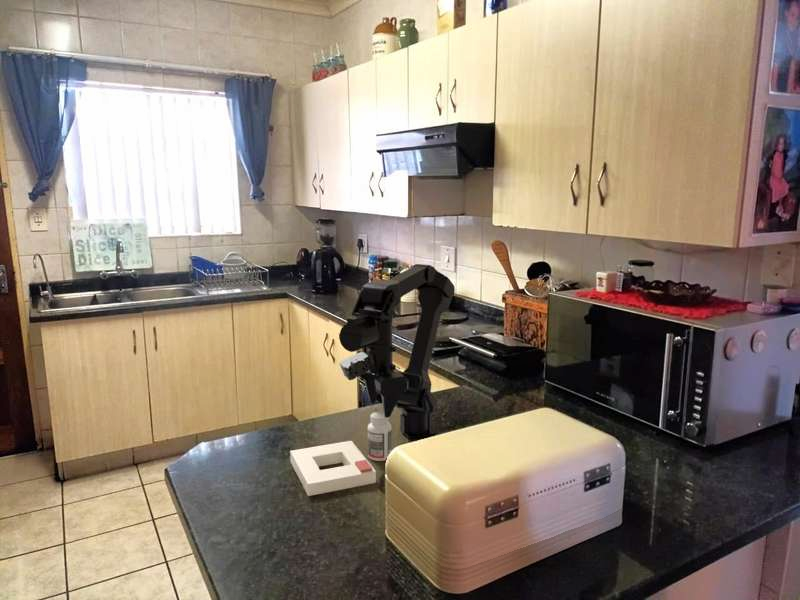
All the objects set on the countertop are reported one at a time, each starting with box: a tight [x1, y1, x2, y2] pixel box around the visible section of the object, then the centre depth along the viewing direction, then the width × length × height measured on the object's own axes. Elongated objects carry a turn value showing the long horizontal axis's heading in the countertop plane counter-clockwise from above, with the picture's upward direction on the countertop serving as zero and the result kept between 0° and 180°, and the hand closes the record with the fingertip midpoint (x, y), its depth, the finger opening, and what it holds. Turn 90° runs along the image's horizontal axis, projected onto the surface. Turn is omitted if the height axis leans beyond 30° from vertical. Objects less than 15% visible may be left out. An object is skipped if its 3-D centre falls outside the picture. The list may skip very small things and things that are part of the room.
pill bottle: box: [366, 411, 393, 462], centre depth 129 cm, size 5×5×10 cm
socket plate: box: [289, 440, 377, 497], centre depth 122 cm, size 14×16×3 cm
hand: (379, 409), depth 128 cm, fingers open, 9 cm apart
